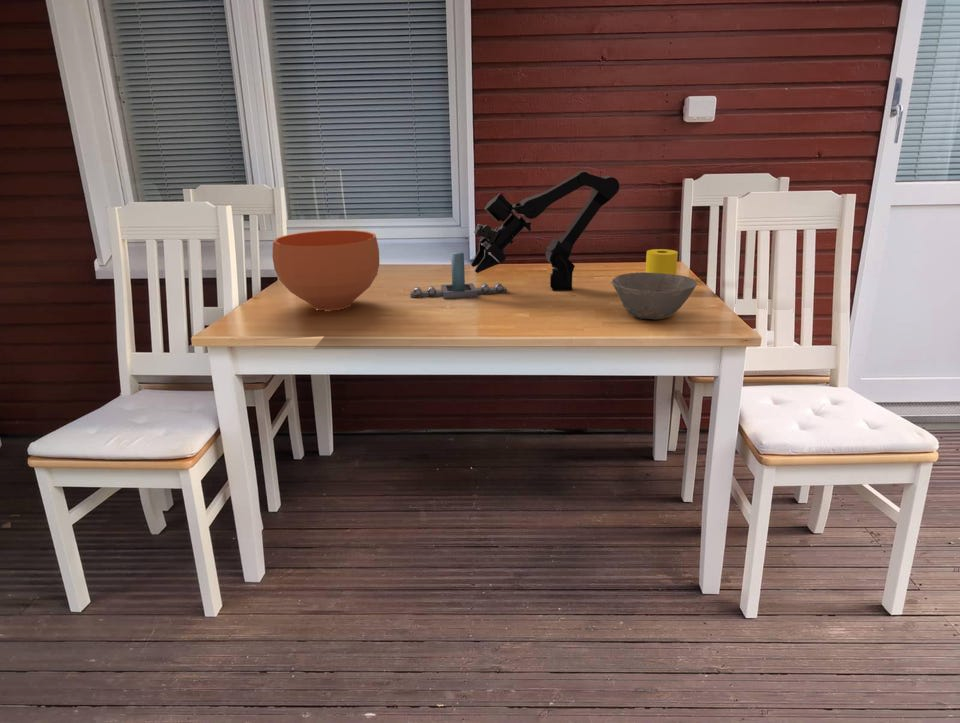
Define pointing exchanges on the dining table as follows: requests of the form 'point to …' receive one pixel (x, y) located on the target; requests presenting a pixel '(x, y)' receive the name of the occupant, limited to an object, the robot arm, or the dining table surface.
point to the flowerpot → (327, 265)
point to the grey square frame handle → (467, 293)
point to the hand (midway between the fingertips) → (473, 269)
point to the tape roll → (661, 261)
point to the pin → (458, 271)
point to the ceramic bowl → (653, 293)
